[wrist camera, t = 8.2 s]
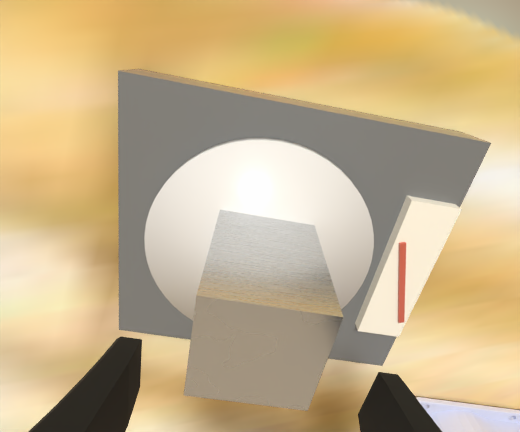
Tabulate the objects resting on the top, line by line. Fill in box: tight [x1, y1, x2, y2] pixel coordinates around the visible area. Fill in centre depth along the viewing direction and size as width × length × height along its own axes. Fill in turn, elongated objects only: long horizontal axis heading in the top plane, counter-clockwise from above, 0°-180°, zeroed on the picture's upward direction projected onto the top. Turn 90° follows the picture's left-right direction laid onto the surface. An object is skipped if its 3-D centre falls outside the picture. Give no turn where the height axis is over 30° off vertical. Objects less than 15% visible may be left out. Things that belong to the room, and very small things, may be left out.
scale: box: [118, 69, 491, 366], centre depth 17 cm, size 16×14×3 cm
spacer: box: [184, 209, 343, 411], centre depth 13 cm, size 4×4×6 cm
